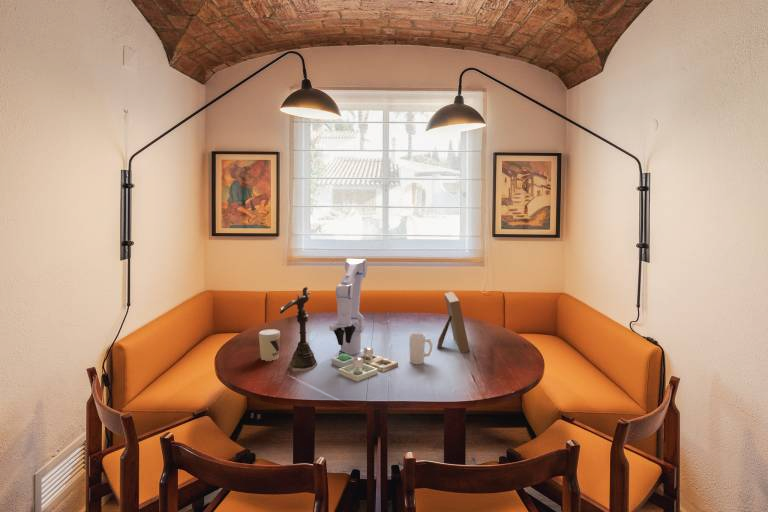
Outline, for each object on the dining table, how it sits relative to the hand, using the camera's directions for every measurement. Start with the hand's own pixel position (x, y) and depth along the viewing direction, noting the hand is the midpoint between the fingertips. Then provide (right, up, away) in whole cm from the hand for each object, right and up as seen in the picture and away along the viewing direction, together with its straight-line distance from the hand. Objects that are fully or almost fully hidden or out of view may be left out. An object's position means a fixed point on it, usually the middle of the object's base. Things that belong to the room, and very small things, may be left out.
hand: (344, 343), depth 175 cm
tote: (+7, -11, -9) cm, 16 cm away
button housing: (0, -9, +1) cm, 9 cm away
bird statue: (-20, -10, -2) cm, 22 cm away
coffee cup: (-34, -8, +9) cm, 36 cm away
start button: (0, -8, +1) cm, 8 cm away
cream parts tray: (+13, -9, +2) cm, 16 cm away
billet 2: (+10, -9, +5) cm, 14 cm away
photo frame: (+50, -7, +29) cm, 58 cm away
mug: (+33, -9, +5) cm, 35 cm away
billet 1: (+7, -10, -9) cm, 15 cm away
